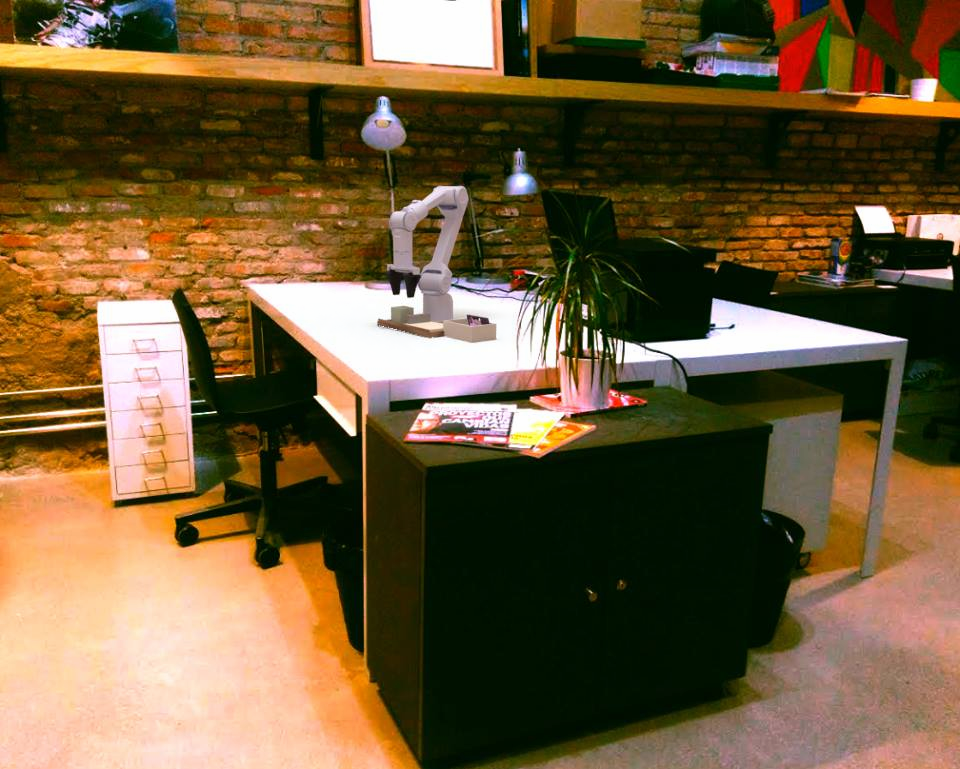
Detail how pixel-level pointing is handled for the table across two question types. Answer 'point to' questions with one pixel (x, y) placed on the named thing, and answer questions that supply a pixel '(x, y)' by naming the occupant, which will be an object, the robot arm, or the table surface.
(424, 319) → the lid
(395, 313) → the sage block
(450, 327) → the beige open box
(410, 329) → the board
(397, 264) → the robot arm
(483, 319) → the black piece
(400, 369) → the table surface
